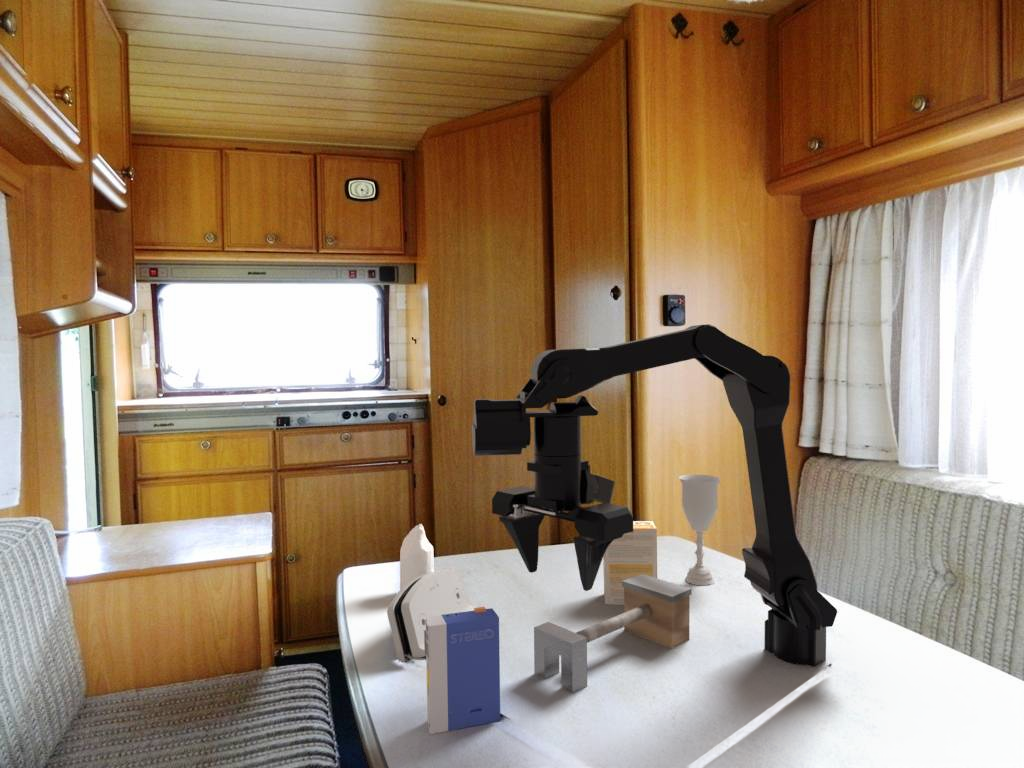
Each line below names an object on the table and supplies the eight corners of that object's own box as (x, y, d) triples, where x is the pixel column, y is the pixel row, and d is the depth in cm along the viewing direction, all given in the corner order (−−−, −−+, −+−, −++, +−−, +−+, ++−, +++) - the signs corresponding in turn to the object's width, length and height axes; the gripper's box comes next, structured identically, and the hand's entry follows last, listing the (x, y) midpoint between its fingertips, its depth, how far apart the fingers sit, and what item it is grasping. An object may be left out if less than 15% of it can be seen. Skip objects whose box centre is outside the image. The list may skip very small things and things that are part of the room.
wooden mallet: (641, 628, 99) (641, 573, 98) (691, 646, 92) (691, 588, 92) (555, 666, 87) (555, 605, 87) (605, 690, 81) (605, 624, 80)
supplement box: (654, 600, 110) (654, 520, 109) (658, 612, 105) (657, 528, 104) (603, 599, 110) (602, 519, 110) (604, 610, 106) (603, 527, 105)
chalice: (670, 577, 121) (670, 476, 120) (700, 571, 124) (701, 473, 123) (698, 590, 114) (698, 483, 113) (729, 583, 117) (729, 480, 116)
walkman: (493, 709, 77) (492, 604, 76) (500, 721, 74) (499, 613, 74) (424, 721, 75) (422, 613, 74) (429, 734, 72) (427, 623, 71)
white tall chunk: (391, 524, 113) (418, 518, 117) (393, 595, 113) (419, 586, 117) (414, 530, 109) (441, 523, 113) (415, 604, 109) (442, 595, 113)
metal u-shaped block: (587, 694, 80) (586, 637, 80) (572, 701, 78) (572, 643, 78) (549, 675, 85) (548, 621, 84) (534, 681, 83) (533, 627, 83)
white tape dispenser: (431, 667, 87) (406, 592, 88) (401, 674, 89) (377, 600, 90) (484, 619, 103) (462, 555, 104) (457, 625, 104) (436, 563, 105)
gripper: (661, 453, 81) (662, 583, 81) (549, 440, 95) (550, 550, 95) (600, 465, 73) (601, 607, 74) (488, 448, 87) (490, 568, 88)
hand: (559, 580), depth 83 cm, fingers open, 9 cm apart
